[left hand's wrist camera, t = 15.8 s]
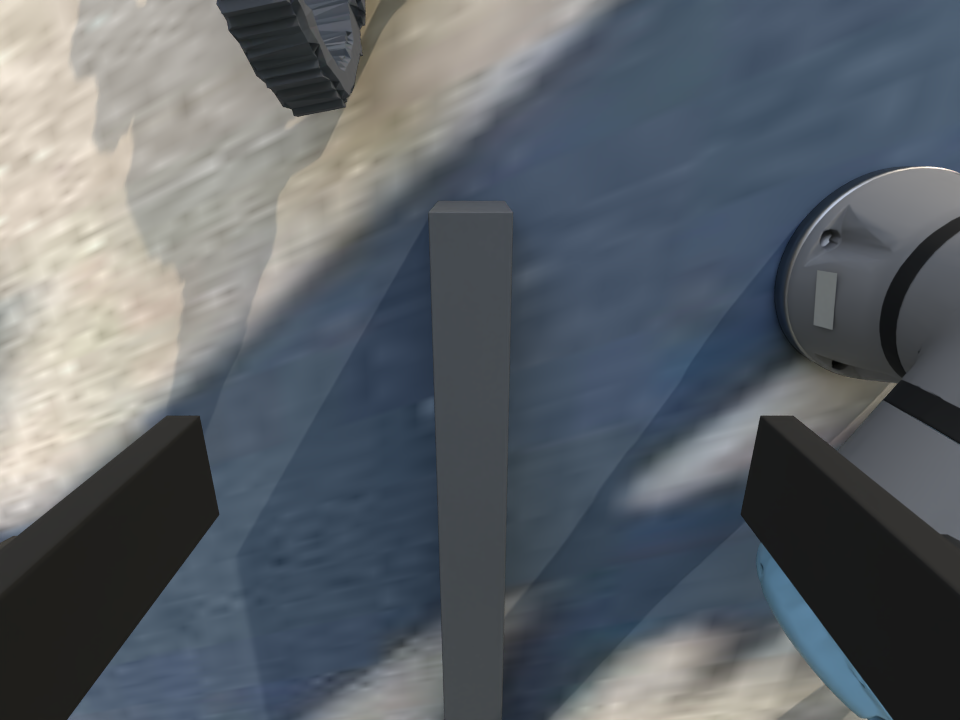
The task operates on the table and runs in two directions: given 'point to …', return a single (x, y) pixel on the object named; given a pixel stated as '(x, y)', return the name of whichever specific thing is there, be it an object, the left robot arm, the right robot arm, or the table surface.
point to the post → (471, 444)
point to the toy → (300, 48)
